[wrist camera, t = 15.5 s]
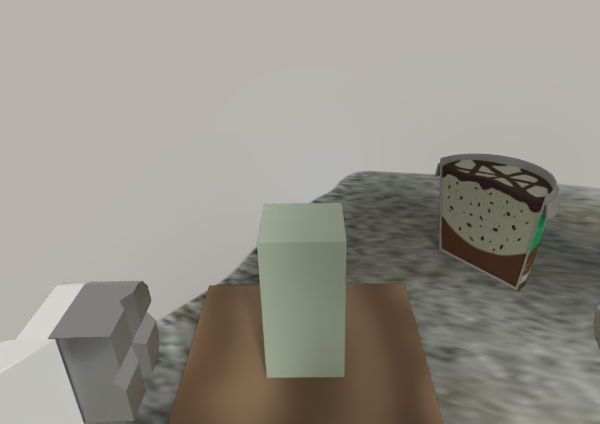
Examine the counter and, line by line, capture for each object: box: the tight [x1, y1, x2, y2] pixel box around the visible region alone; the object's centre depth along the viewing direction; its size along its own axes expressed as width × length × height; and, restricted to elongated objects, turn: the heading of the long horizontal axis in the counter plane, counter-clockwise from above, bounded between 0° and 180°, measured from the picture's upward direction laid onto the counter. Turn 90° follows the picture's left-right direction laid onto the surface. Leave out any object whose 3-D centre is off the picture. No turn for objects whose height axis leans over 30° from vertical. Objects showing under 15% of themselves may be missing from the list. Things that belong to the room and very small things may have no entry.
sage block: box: [257, 203, 346, 378], centre depth 34 cm, size 5×5×10 cm
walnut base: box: [168, 283, 444, 424], centre depth 37 cm, size 16×16×4 cm
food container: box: [435, 154, 559, 291], centre depth 51 cm, size 12×6×10 cm, turn 35°
